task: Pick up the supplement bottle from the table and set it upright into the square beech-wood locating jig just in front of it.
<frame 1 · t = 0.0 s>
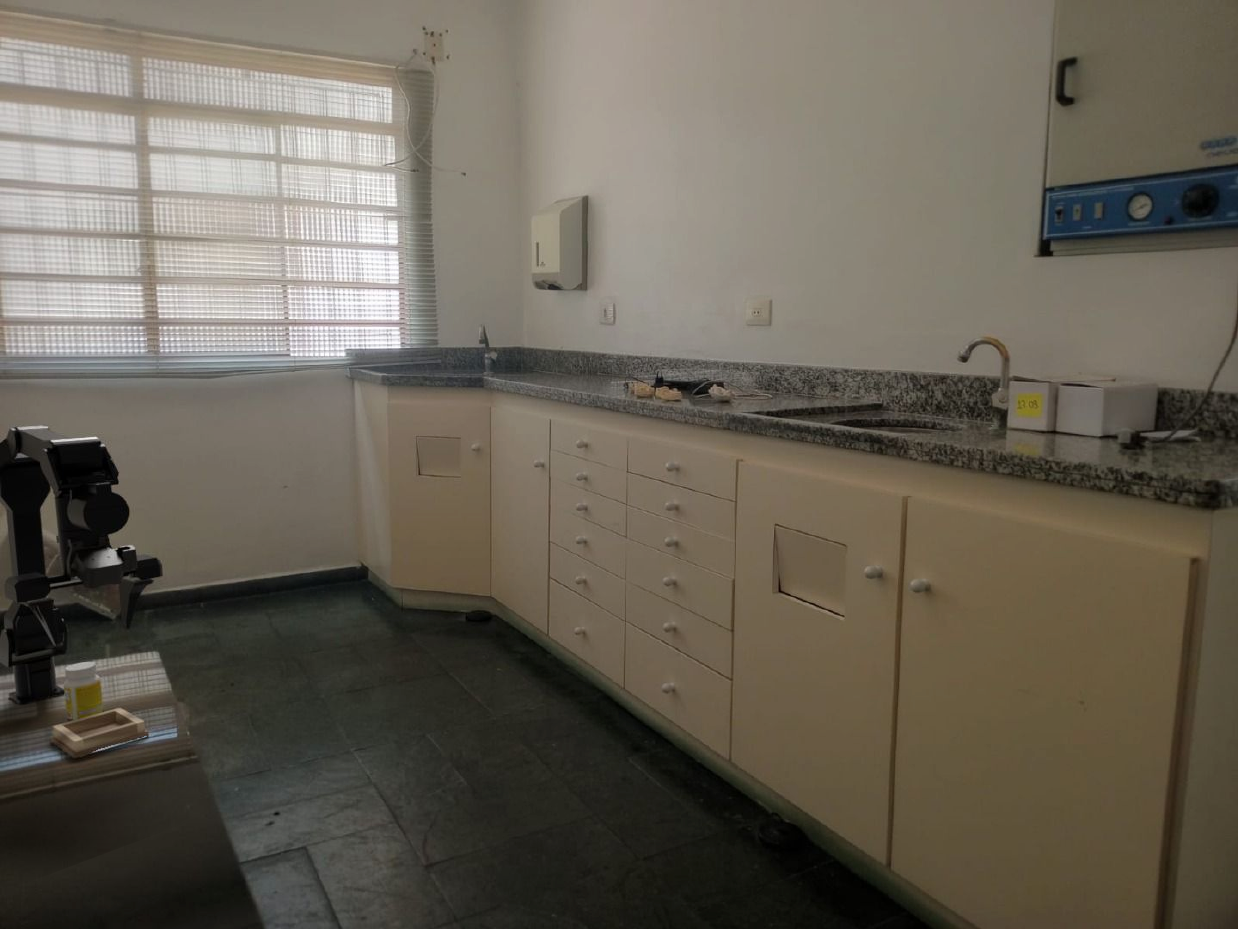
hand: (92, 637, 134), 15 cm above the counter, fingers open, 9 cm apart
jig cradle: (100, 739, 135), on the counter
supplement bottle: (86, 721, 143), on the counter
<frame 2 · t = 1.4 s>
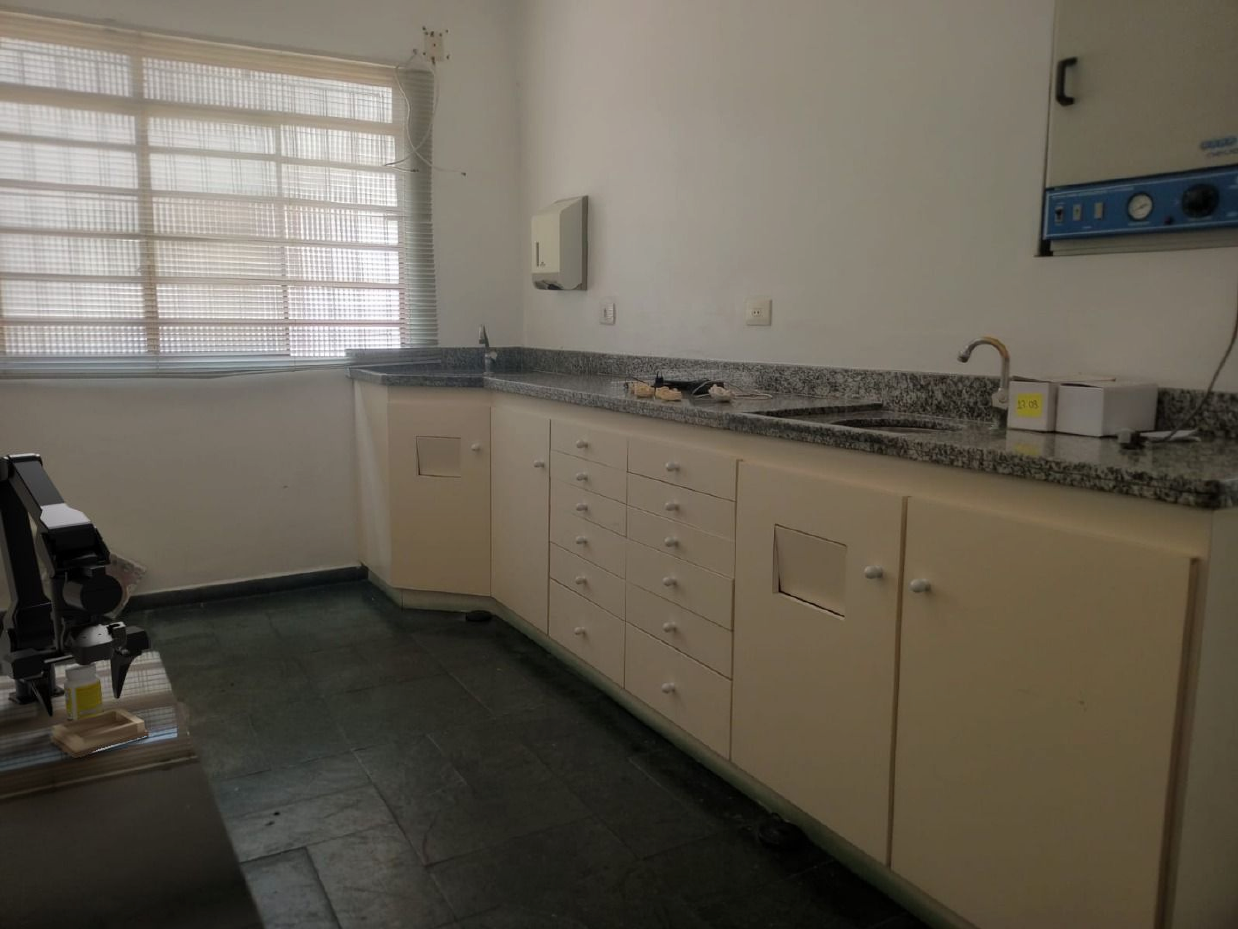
hand: (84, 707, 142), 2 cm above the counter, fingers open, 9 cm apart
nothing on the counter moved.
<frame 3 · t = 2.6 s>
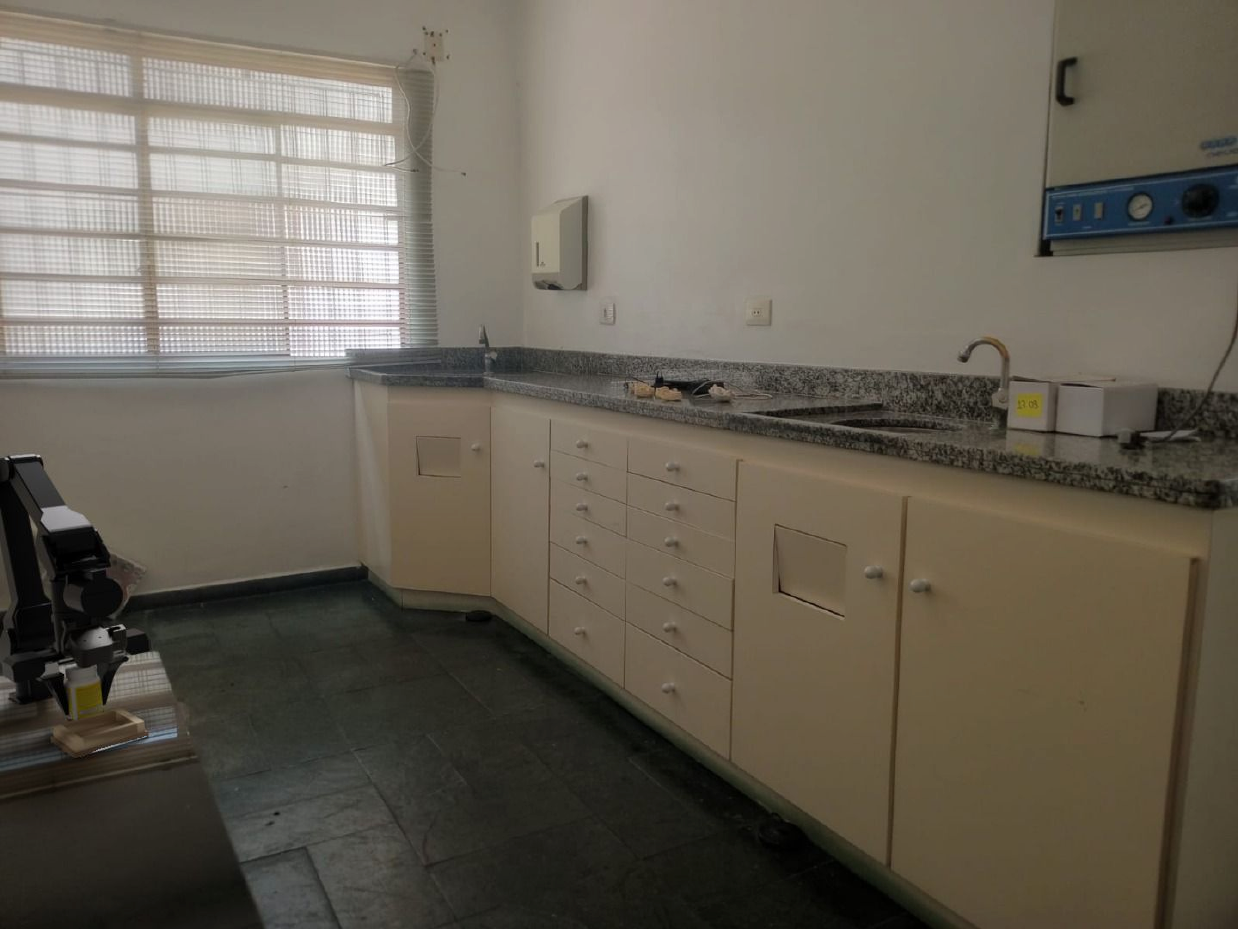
hand: (84, 709, 142), 2 cm above the counter, fingers closed on supplement bottle, 5 cm apart
supplement bottle: (86, 721, 143), on the counter, touching gripper
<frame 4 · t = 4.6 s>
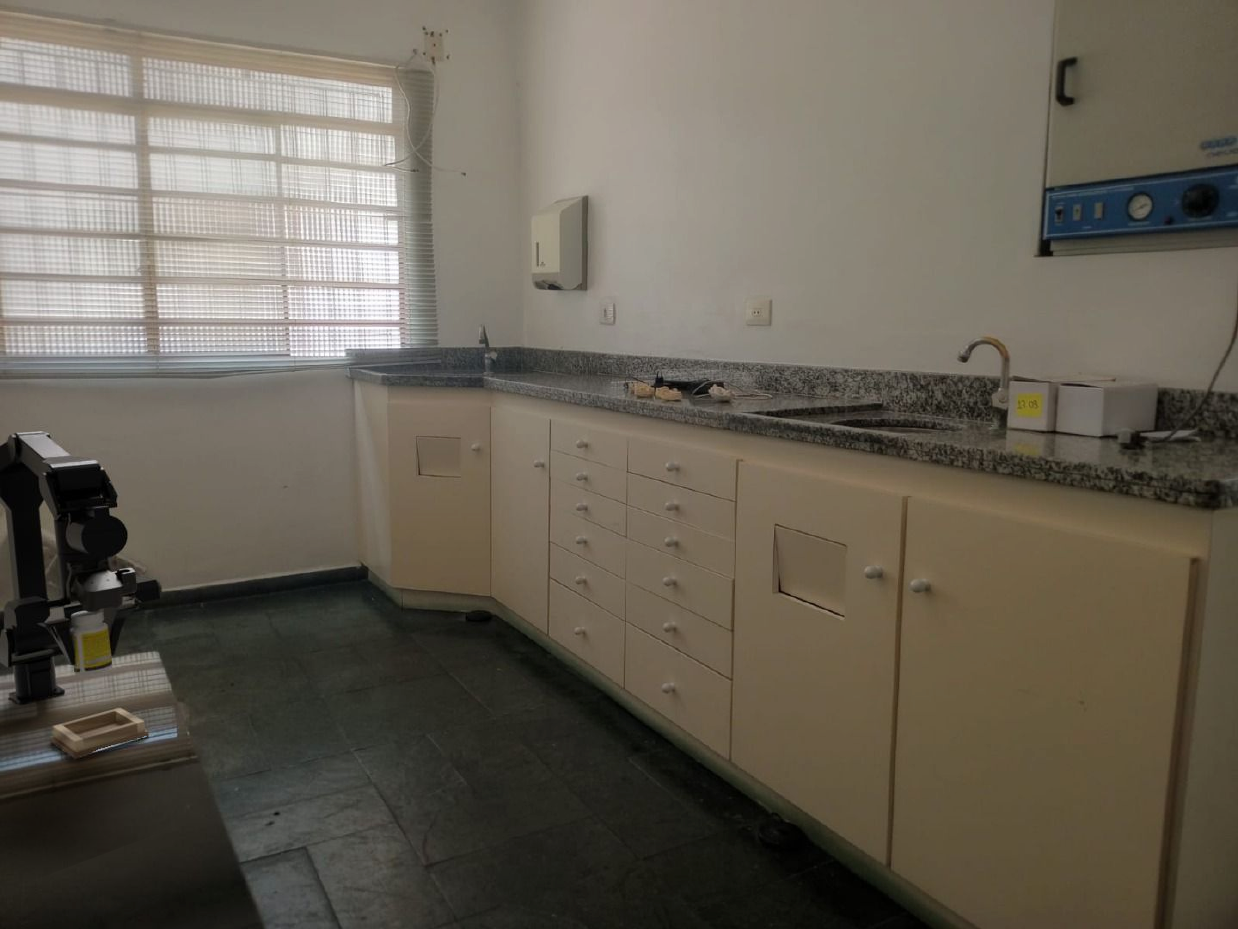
hand: (92, 660, 134), 11 cm above the counter, fingers closed on supplement bottle, 5 cm apart
supplement bottle: (93, 672, 134), point 10 cm above the counter, touching gripper
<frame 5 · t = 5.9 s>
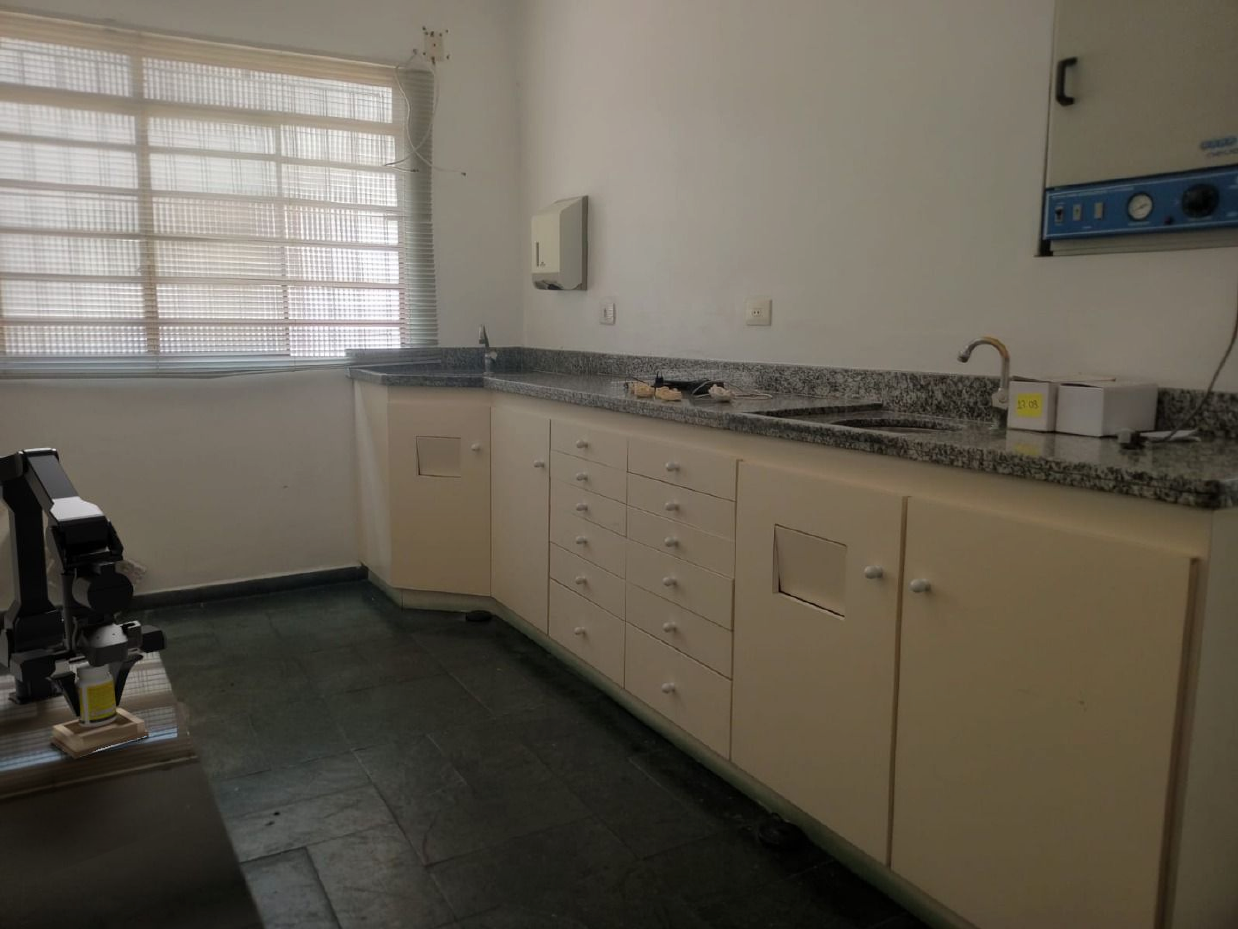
hand: (97, 711, 134), 4 cm above the counter, fingers closed on supplement bottle, 5 cm apart
supplement bottle: (98, 723, 135), point 2 cm above the counter, touching gripper
when the fingers open (4 cm above the counter, at t = 6.8 s): supplement bottle drops 1 cm, resting on jig cradle.
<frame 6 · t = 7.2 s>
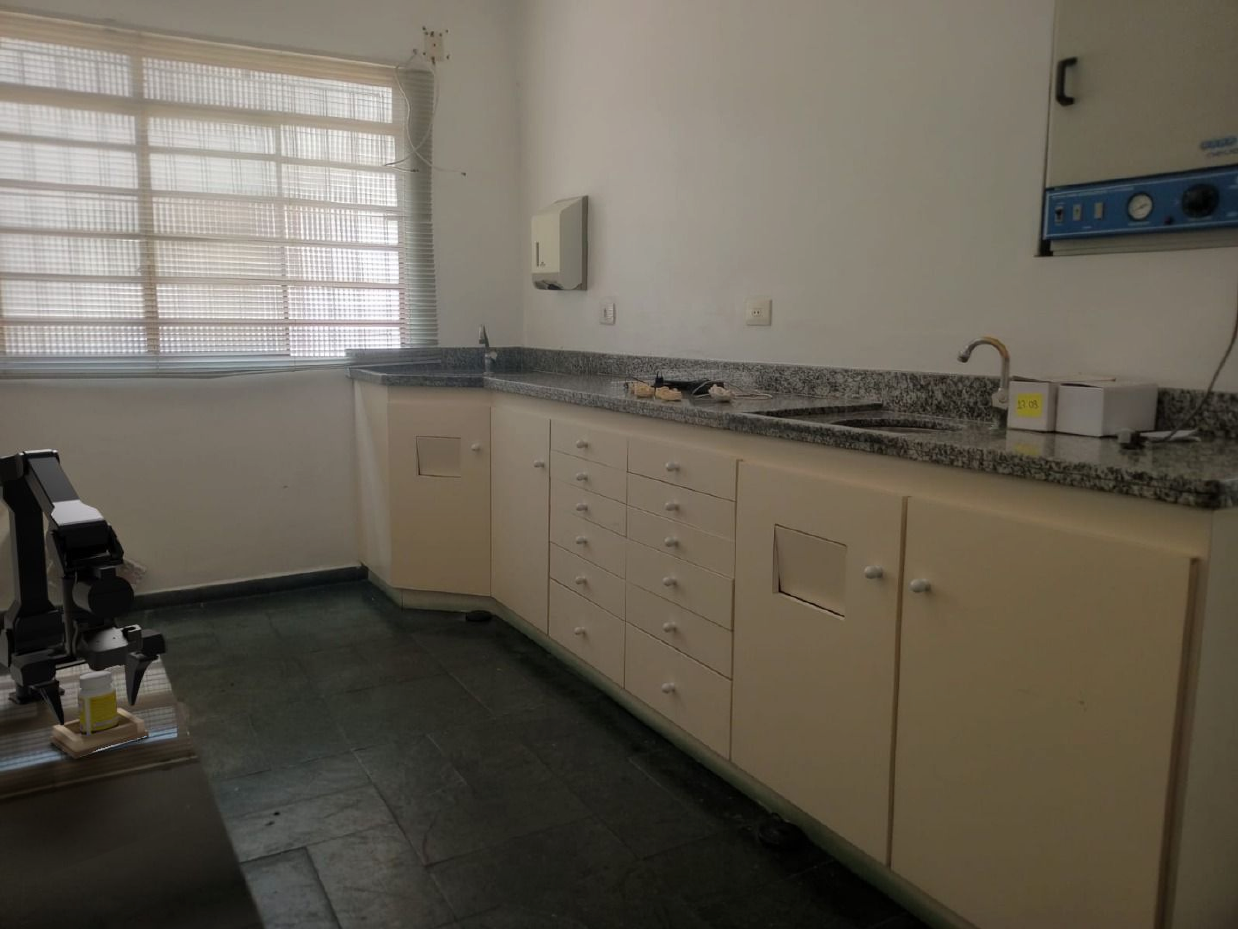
hand: (97, 715, 134), 4 cm above the counter, fingers open, 9 cm apart
supplement bottle: (99, 734, 135), point 1 cm above the counter, touching jig cradle
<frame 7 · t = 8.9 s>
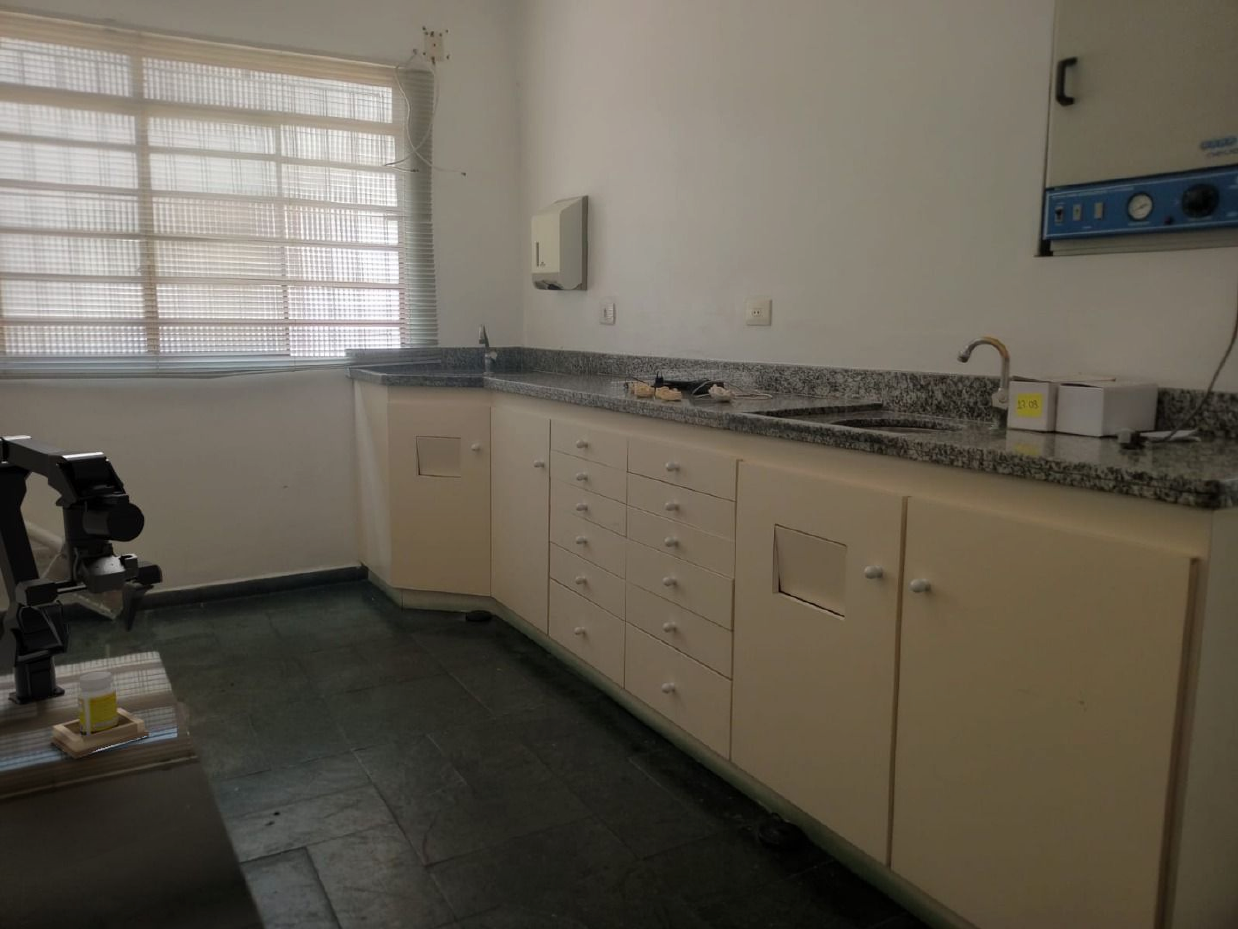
hand: (96, 638, 144), 12 cm above the counter, fingers open, 9 cm apart
nothing on the counter moved.
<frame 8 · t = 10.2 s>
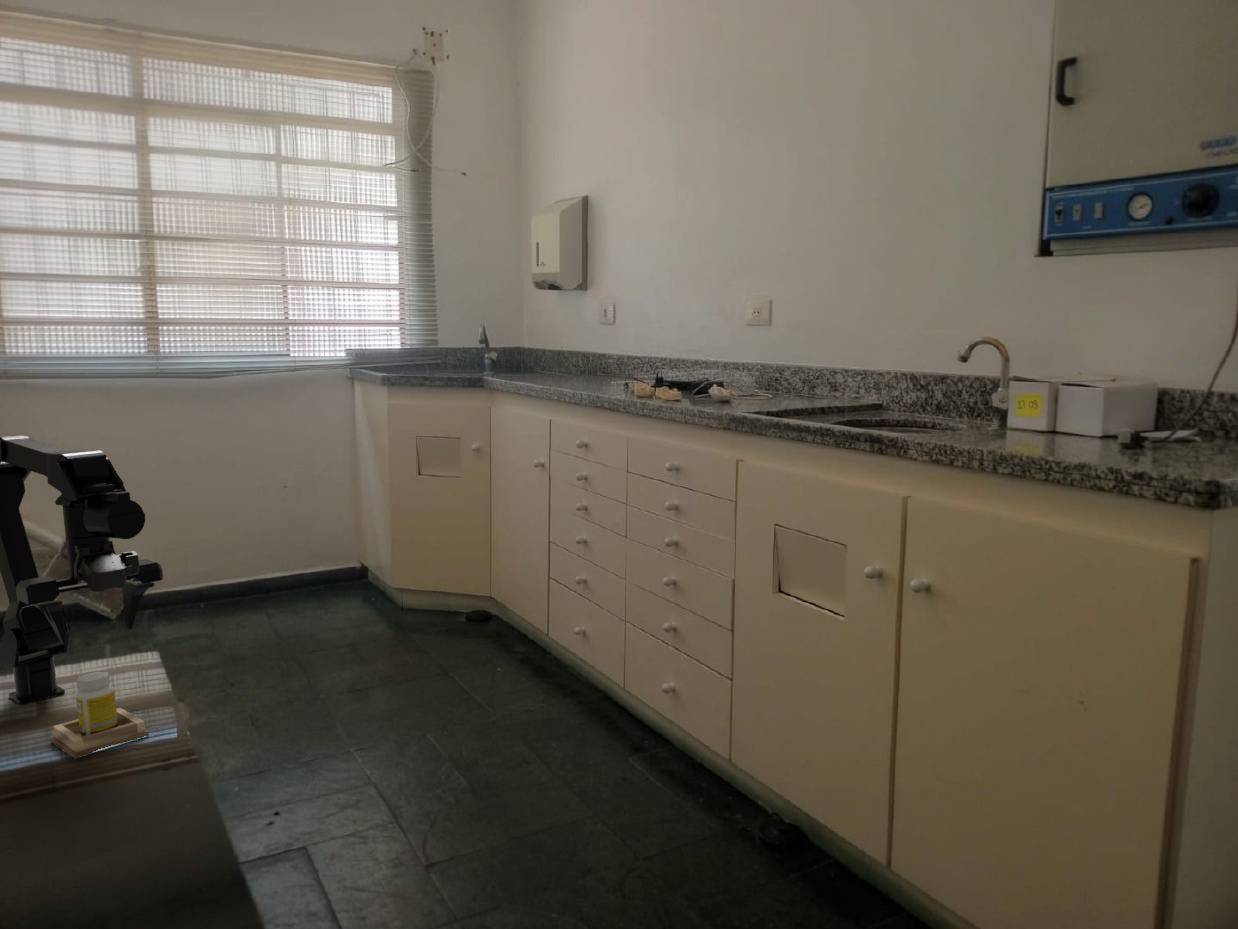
hand: (97, 636, 144), 12 cm above the counter, fingers open, 9 cm apart
nothing on the counter moved.
at the end: supplement bottle 0.1 cm off-centre on the jig cradle, point 0.6 cm above the jig cradle's base; supplement bottle tilted 1°; the gripper is holding nothing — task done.
